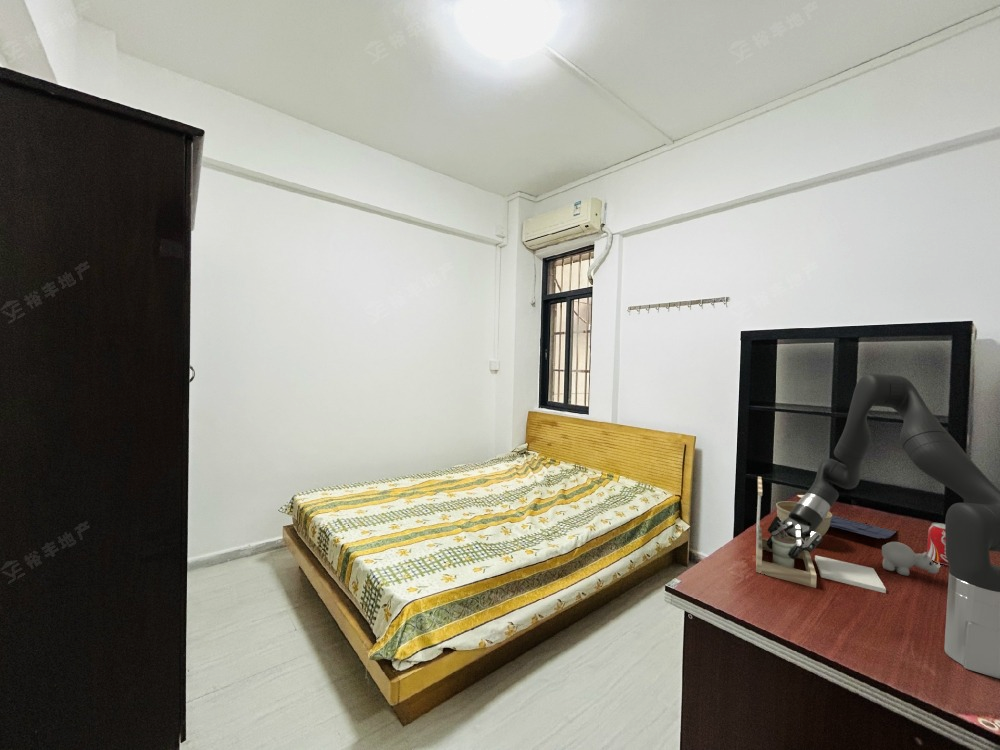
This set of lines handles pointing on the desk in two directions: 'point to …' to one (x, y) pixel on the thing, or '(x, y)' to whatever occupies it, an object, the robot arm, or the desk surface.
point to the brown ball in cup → (782, 550)
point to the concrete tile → (849, 573)
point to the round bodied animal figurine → (905, 559)
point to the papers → (860, 528)
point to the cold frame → (779, 570)
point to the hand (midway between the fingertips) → (779, 551)
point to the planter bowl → (787, 507)
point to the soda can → (937, 543)
